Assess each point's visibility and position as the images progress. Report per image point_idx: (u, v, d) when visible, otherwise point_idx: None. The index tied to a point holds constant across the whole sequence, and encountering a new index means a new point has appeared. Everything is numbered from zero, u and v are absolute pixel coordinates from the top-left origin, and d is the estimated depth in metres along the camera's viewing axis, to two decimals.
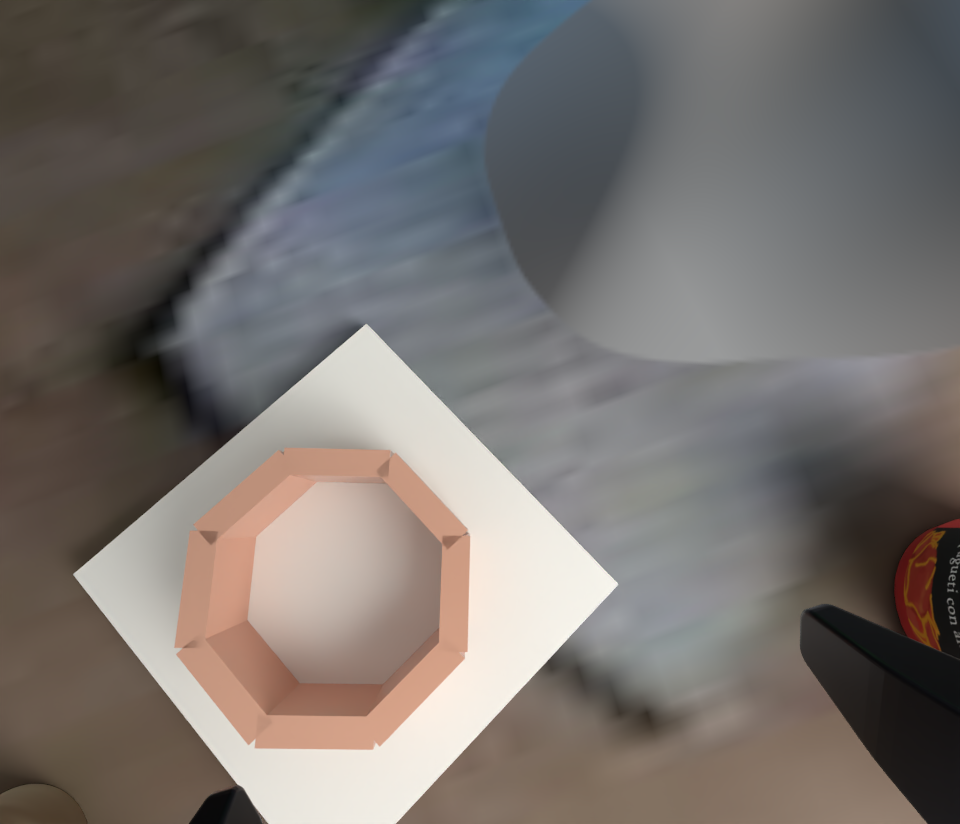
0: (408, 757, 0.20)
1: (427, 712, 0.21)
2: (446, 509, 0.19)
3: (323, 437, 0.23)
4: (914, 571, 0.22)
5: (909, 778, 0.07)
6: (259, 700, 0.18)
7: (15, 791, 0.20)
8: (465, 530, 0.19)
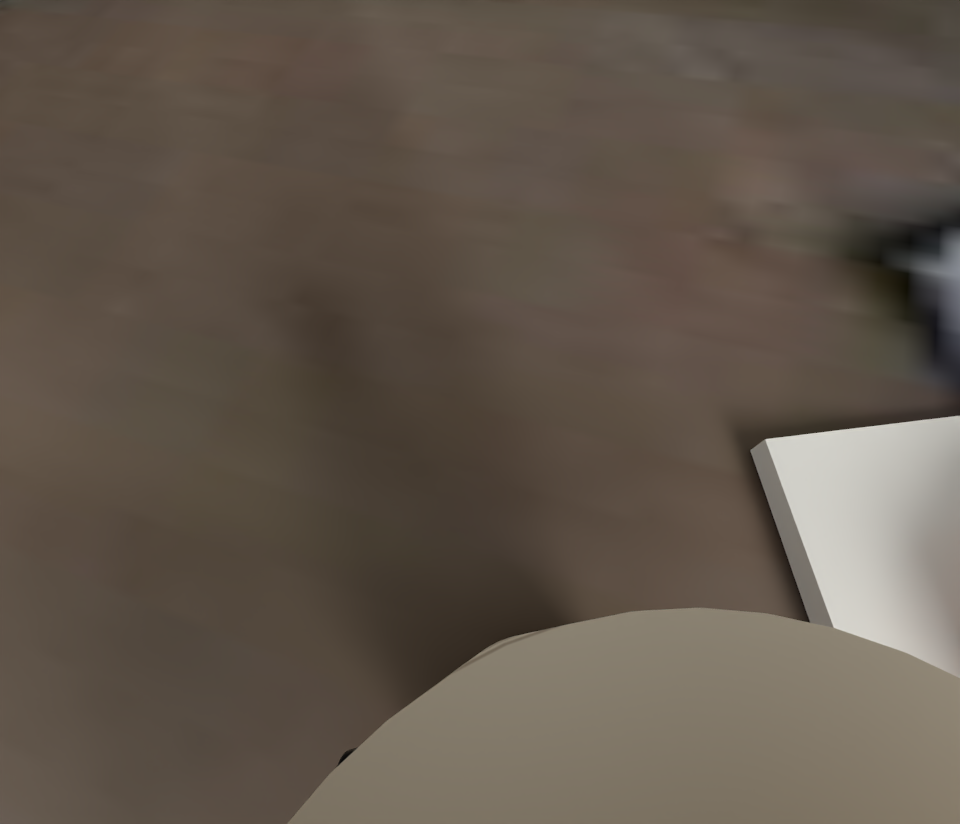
0: None
1: None
2: None
3: None
4: None
5: None
6: None
7: None
8: None
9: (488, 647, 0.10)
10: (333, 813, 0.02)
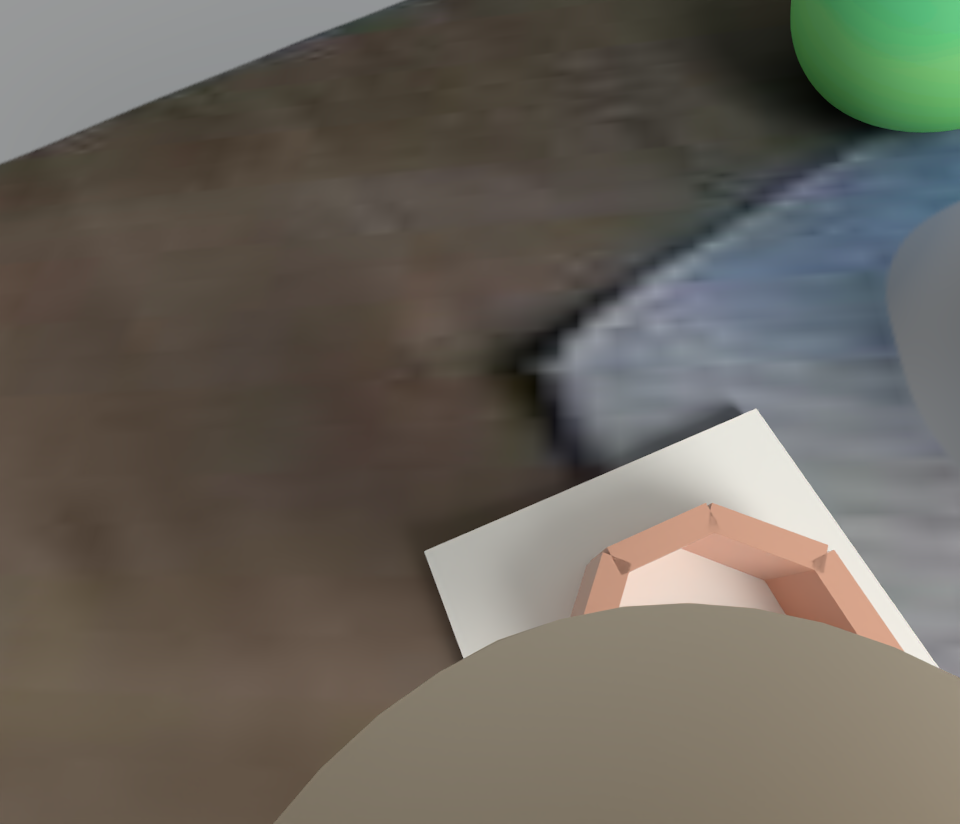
0: None
1: None
2: (890, 634, 0.16)
3: (695, 505, 0.22)
4: None
5: None
6: None
7: None
8: None
9: None
10: (325, 806, 0.02)
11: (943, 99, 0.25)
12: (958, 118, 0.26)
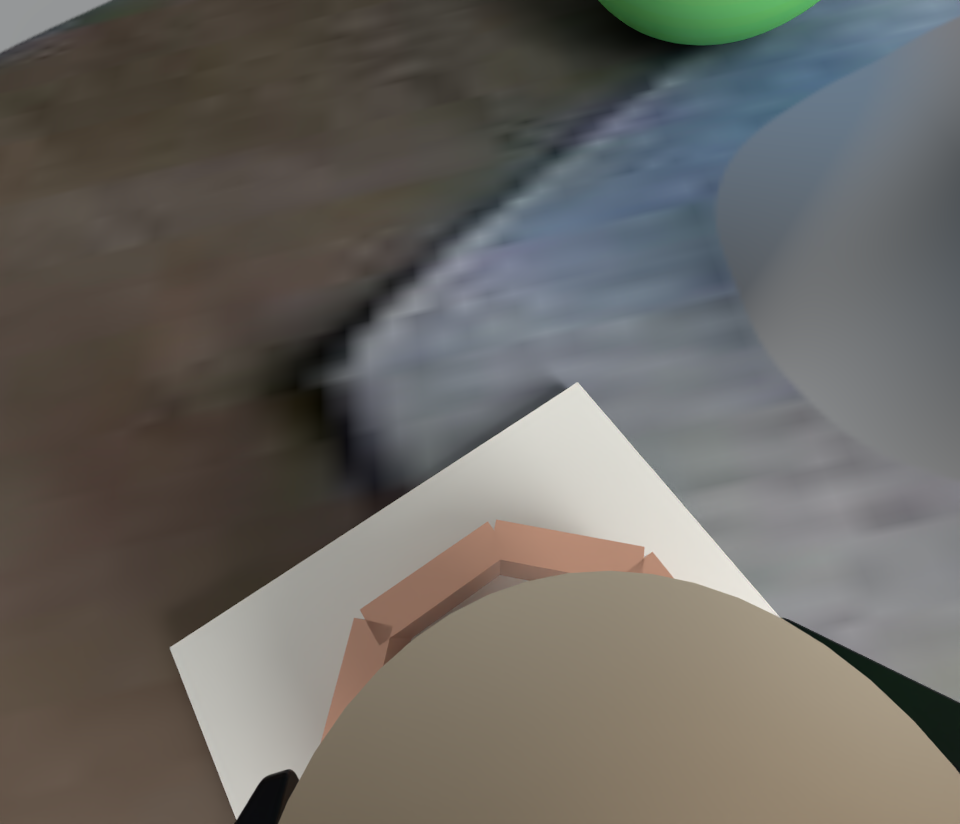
0: None
1: None
2: None
3: (513, 516, 0.17)
4: None
5: None
6: None
7: None
8: None
9: None
10: (381, 693, 0.04)
11: None
12: (754, 16, 0.23)
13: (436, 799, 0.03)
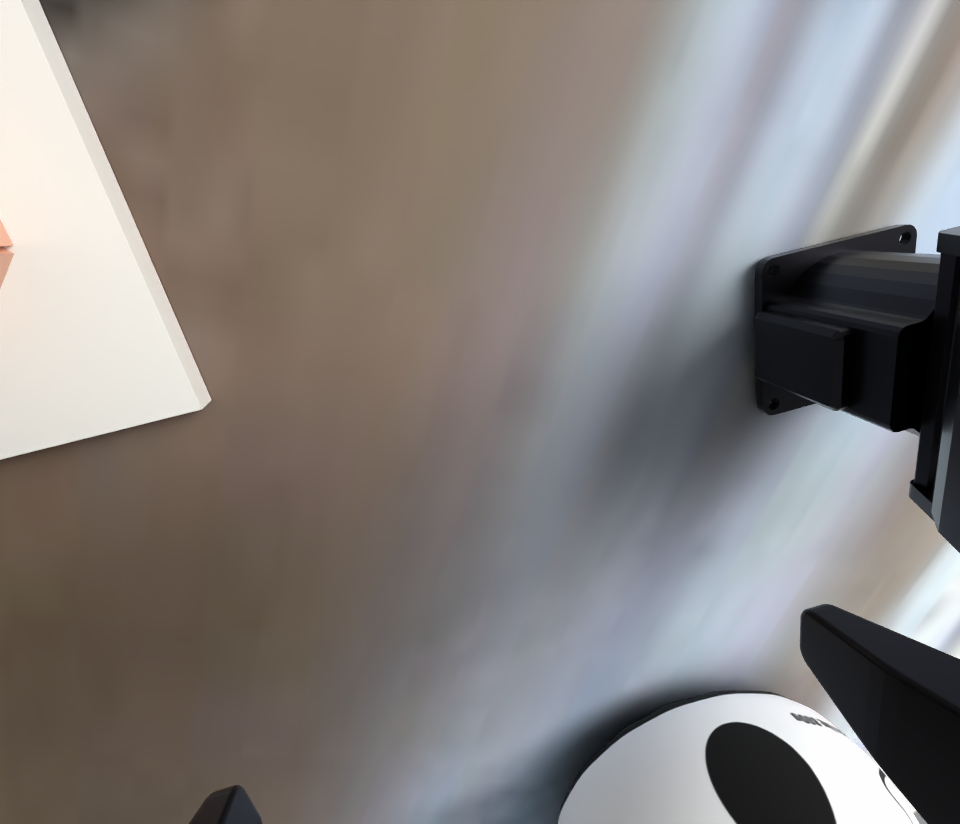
0: (85, 258, 0.15)
1: (34, 205, 0.15)
2: None
3: None
4: None
5: (909, 778, 0.07)
6: None
7: None
8: None
9: None
10: None
11: None
12: None
13: None
